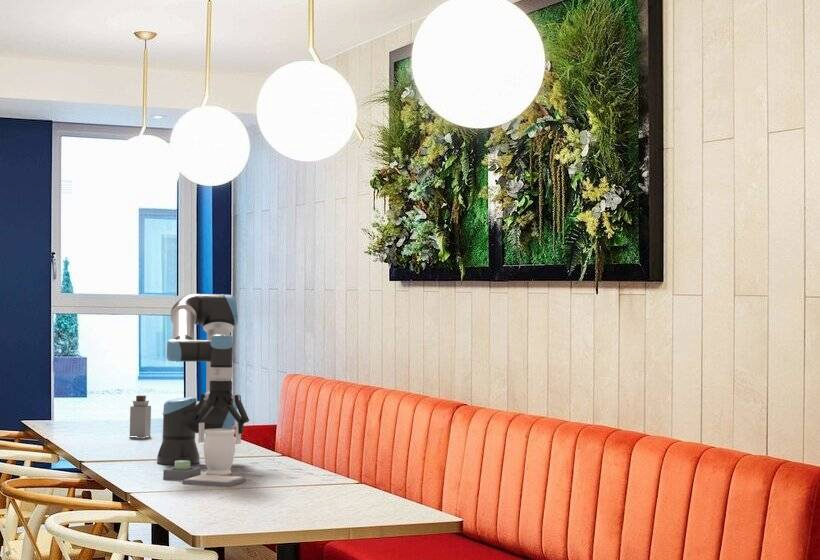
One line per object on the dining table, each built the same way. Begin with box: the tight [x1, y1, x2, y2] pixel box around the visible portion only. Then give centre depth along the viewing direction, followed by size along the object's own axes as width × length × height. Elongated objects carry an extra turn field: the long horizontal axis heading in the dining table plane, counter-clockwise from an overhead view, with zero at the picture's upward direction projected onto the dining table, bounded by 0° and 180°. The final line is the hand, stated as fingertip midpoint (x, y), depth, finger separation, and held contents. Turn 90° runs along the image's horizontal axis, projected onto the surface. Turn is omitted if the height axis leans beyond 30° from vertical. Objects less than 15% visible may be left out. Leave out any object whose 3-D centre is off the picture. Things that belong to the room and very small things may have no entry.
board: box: [181, 473, 247, 488], centre depth 359 cm, size 16×13×2 cm
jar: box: [203, 428, 236, 476], centre depth 378 cm, size 11×10×15 cm
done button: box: [174, 460, 191, 471], centre depth 367 cm, size 5×5×3 cm
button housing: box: [162, 466, 202, 481], centre depth 367 cm, size 9×9×3 cm
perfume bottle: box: [129, 394, 152, 437], centre depth 484 cm, size 7×7×18 cm
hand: (219, 442), depth 378 cm, fingers open, 13 cm apart
